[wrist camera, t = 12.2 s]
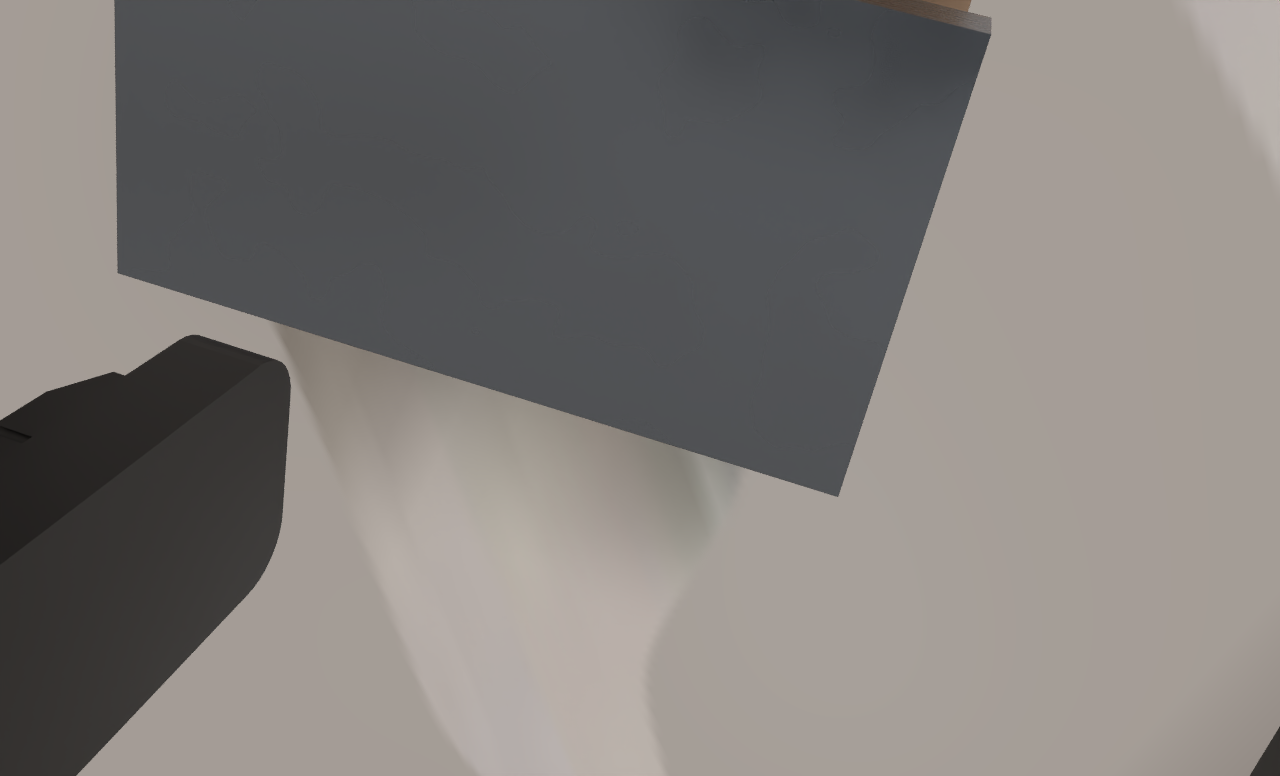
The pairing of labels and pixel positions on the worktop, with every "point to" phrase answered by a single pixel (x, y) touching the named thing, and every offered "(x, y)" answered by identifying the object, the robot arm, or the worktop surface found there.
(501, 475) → the worktop surface
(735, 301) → the thin grey panel
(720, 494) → the worktop surface
